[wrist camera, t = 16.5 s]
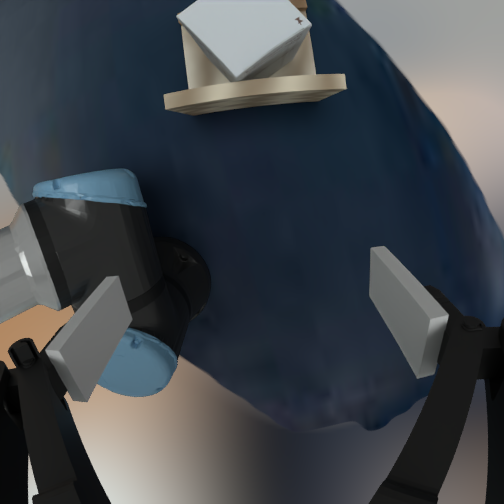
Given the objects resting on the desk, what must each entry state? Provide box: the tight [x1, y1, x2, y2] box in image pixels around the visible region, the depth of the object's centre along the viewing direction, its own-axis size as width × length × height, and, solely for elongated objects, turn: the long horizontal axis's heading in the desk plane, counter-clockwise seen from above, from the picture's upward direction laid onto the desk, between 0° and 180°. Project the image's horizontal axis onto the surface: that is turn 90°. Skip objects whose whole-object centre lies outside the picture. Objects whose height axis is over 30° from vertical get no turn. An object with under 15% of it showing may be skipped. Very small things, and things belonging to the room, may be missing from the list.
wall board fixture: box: [164, 0, 346, 116], centre depth 33 cm, size 18×16×15 cm
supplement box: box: [176, 0, 312, 82], centre depth 31 cm, size 10×9×17 cm
